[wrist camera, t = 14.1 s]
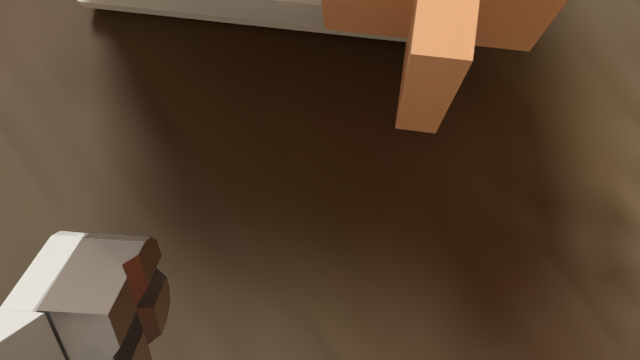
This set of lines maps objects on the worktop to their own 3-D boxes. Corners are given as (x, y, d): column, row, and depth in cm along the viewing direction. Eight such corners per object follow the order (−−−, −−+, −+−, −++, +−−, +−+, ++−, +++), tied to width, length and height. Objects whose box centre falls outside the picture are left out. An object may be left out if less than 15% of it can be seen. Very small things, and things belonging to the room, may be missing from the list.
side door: (311, 121, 24) (282, 40, 15) (328, 12, 24) (309, -124, 16) (520, 147, 23) (609, 75, 14) (531, 33, 24) (623, -98, 15)
